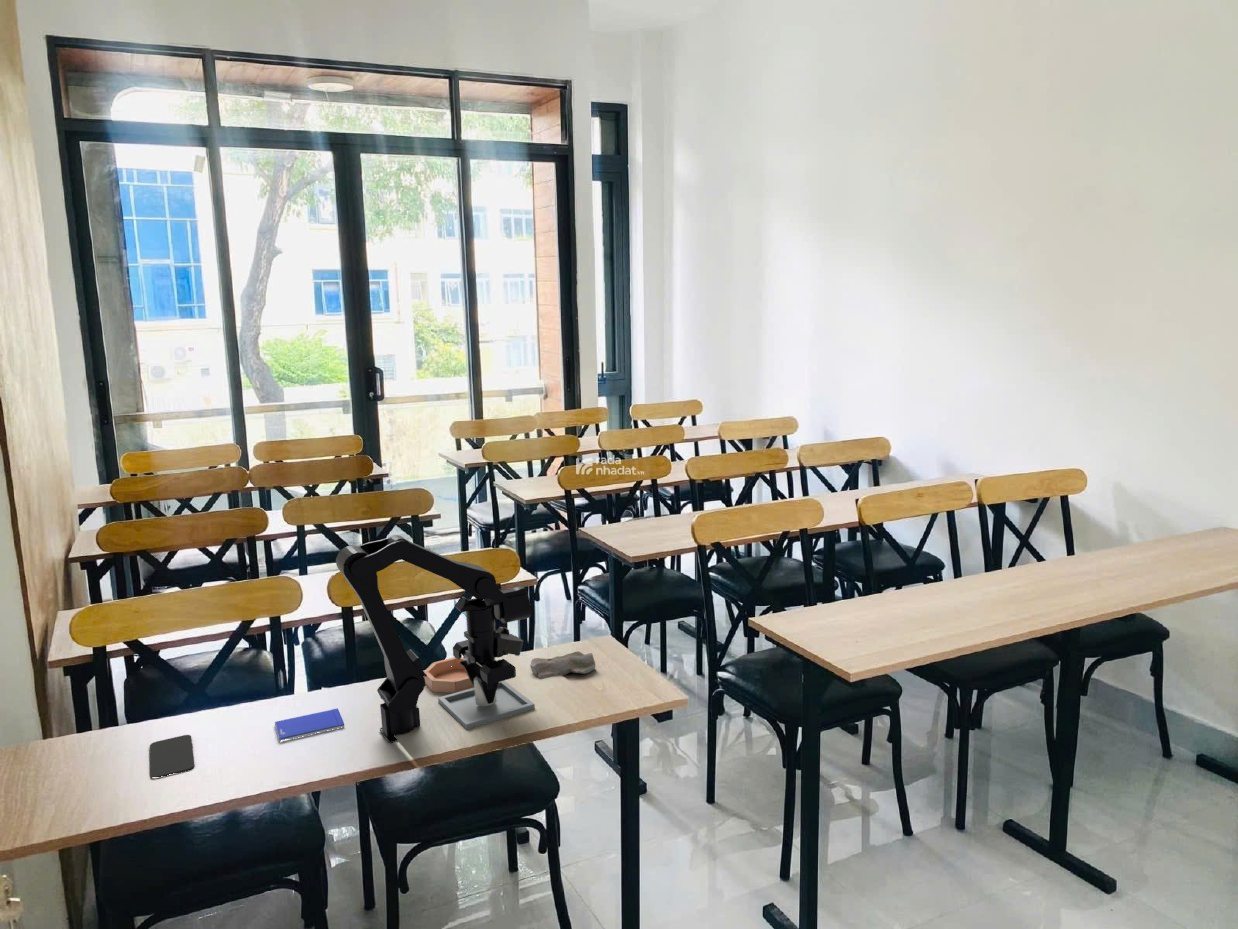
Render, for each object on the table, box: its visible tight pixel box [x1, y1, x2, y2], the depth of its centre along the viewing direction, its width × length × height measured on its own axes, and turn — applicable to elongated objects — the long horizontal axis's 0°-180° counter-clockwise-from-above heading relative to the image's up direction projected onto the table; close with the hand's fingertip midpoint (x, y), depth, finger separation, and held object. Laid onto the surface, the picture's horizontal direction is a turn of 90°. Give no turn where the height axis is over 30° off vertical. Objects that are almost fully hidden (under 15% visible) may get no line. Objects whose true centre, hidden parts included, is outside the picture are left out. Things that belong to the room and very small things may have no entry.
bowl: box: [423, 656, 474, 694], centre depth 194 cm, size 13×13×4 cm
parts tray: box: [437, 680, 536, 730], centre depth 181 cm, size 15×15×2 cm
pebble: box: [474, 677, 497, 706], centre depth 181 cm, size 4×4×5 cm
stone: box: [530, 650, 596, 679], centre depth 199 cm, size 15×10×4 cm, turn 106°
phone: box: [149, 734, 195, 778], centre depth 166 cm, size 7×1×15 cm
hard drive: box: [274, 708, 345, 742], centre depth 177 cm, size 2×8×12 cm
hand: (485, 699), depth 181 cm, fingers closed on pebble, 4 cm apart
